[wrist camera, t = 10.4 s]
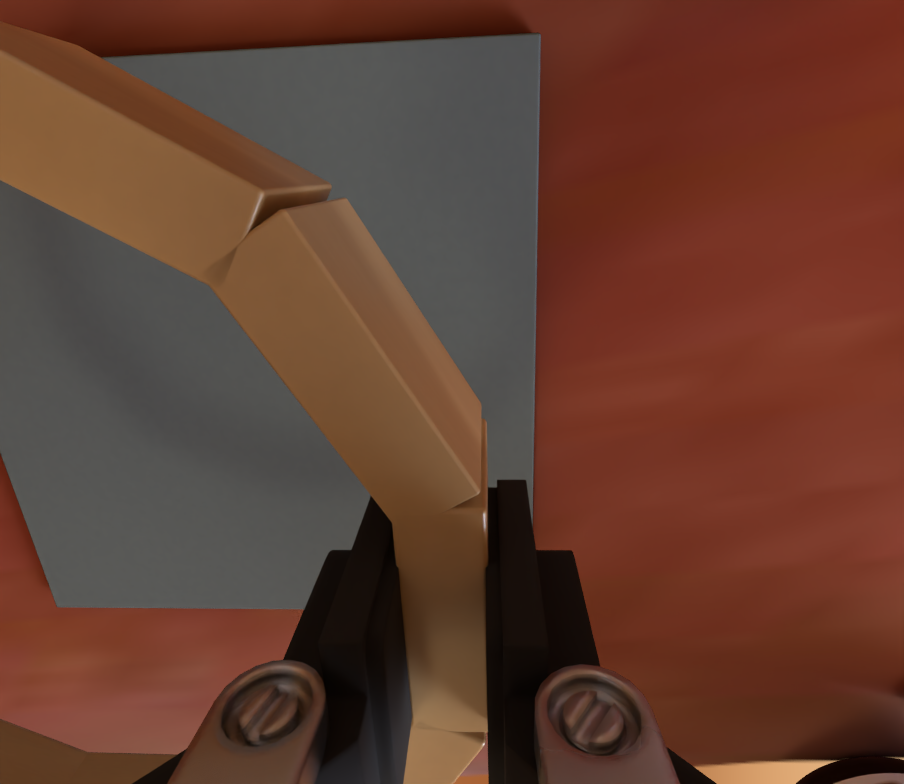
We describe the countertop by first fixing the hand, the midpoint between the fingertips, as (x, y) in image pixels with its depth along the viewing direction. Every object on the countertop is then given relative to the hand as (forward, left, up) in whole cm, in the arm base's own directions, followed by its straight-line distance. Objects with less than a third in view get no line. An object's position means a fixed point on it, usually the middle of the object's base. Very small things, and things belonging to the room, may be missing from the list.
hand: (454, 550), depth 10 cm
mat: (0, -8, -10) cm, 12 cm away
